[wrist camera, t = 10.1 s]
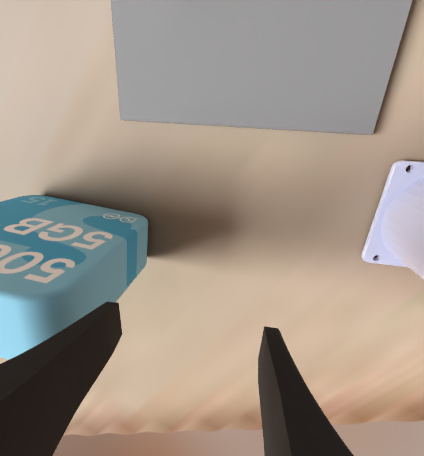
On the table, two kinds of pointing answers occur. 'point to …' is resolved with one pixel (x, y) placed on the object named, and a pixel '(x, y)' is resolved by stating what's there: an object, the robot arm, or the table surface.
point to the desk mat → (257, 62)
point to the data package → (61, 265)
